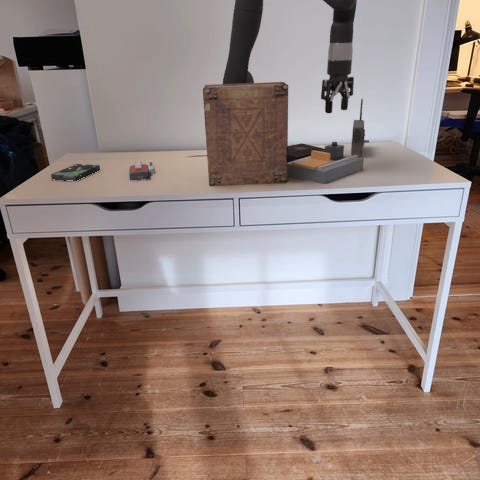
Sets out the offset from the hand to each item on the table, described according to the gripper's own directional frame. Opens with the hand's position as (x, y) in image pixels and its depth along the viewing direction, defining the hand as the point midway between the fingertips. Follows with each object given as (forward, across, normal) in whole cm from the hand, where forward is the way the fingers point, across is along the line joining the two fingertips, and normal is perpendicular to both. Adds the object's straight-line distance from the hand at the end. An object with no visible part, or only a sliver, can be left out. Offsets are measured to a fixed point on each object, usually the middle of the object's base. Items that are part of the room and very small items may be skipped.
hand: (336, 111), depth 146 cm
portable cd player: (+20, -4, -19) cm, 28 cm away
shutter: (+16, +12, 0) cm, 19 cm away
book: (+20, +29, -13) cm, 37 cm away
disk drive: (+22, +64, -65) cm, 94 cm away
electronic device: (+20, -26, -6) cm, 34 cm away
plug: (+19, 0, 0) cm, 19 cm away
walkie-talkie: (+21, +47, -48) cm, 71 cm away
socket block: (+20, +5, 0) cm, 20 cm away
